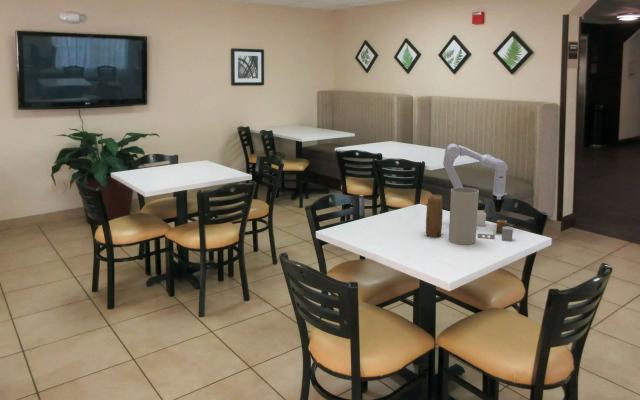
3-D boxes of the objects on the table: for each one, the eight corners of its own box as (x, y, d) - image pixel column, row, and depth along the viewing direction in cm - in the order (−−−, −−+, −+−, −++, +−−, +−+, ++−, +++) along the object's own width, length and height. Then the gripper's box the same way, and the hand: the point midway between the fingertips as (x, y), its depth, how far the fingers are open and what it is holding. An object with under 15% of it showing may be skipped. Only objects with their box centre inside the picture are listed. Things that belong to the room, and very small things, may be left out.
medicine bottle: (482, 223, 288) (484, 201, 285) (484, 227, 281) (487, 205, 278) (468, 222, 289) (471, 201, 286) (471, 226, 282) (473, 204, 279)
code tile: (477, 238, 260) (477, 237, 260) (477, 234, 268) (477, 233, 268) (494, 239, 258) (494, 239, 258) (494, 235, 265) (494, 234, 265)
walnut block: (496, 233, 267) (496, 221, 266) (496, 231, 271) (497, 219, 270) (505, 234, 265) (506, 222, 264) (505, 231, 270) (506, 220, 268)
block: (440, 238, 261) (442, 198, 257) (424, 236, 263) (426, 197, 259) (442, 232, 271) (444, 193, 267) (427, 231, 273) (429, 192, 269)
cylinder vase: (456, 246, 248) (459, 193, 243) (443, 238, 260) (446, 188, 255) (480, 244, 252) (484, 192, 246) (466, 236, 263) (469, 186, 258)
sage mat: (493, 235, 266) (493, 234, 266) (492, 231, 273) (493, 230, 273) (508, 236, 264) (509, 235, 264) (508, 232, 271) (508, 231, 271)
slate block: (501, 241, 256) (502, 229, 255) (501, 238, 261) (502, 226, 259) (511, 241, 255) (512, 229, 254) (511, 239, 259) (512, 227, 258)
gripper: (508, 187, 266) (506, 214, 269) (507, 182, 280) (505, 207, 283) (493, 186, 268) (491, 213, 271) (493, 181, 282) (491, 206, 285)
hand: (497, 210), depth 277 cm, fingers open, 7 cm apart
